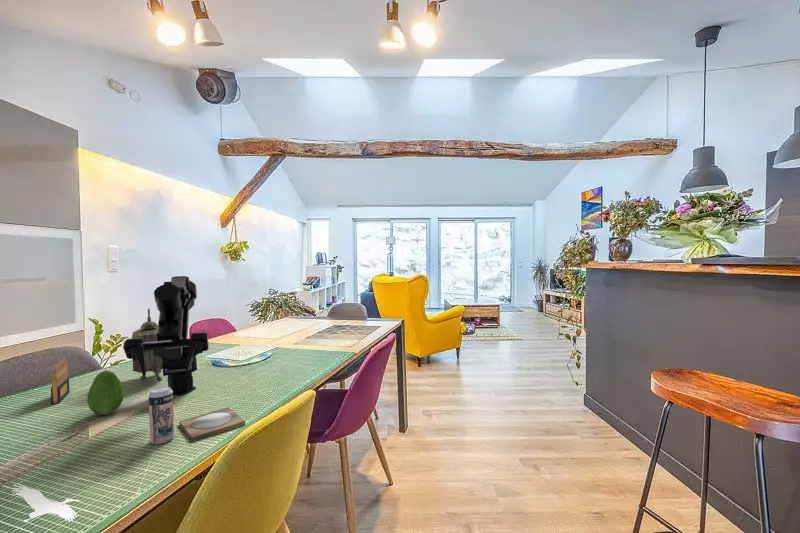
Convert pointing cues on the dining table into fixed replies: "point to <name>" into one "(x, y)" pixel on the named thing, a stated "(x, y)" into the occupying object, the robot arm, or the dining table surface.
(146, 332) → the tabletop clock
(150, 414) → the beer can
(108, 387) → the avocado
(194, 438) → the plate
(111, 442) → the dining table surface
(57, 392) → the ammunition clip
